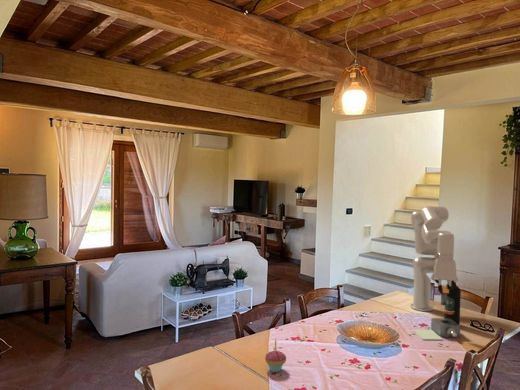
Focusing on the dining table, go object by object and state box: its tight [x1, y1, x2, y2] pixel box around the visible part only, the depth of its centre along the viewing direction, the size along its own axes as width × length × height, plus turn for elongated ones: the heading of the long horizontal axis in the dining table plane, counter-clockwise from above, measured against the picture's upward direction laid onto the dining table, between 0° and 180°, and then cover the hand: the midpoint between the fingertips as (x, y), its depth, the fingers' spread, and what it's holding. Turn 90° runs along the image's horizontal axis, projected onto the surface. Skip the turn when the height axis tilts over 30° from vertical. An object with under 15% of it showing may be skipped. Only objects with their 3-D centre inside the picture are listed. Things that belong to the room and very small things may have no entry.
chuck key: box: [440, 284, 449, 306], centre depth 195 cm, size 3×7×9 cm, turn 166°
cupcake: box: [264, 337, 287, 373], centre depth 154 cm, size 9×8×12 cm
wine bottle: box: [443, 282, 462, 326], centre depth 209 cm, size 8×8×30 cm
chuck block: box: [430, 317, 461, 338], centre depth 194 cm, size 15×10×6 cm
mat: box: [412, 329, 444, 341], centre depth 193 cm, size 12×10×1 cm
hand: (444, 292), depth 195 cm, fingers closed on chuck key, 2 cm apart
